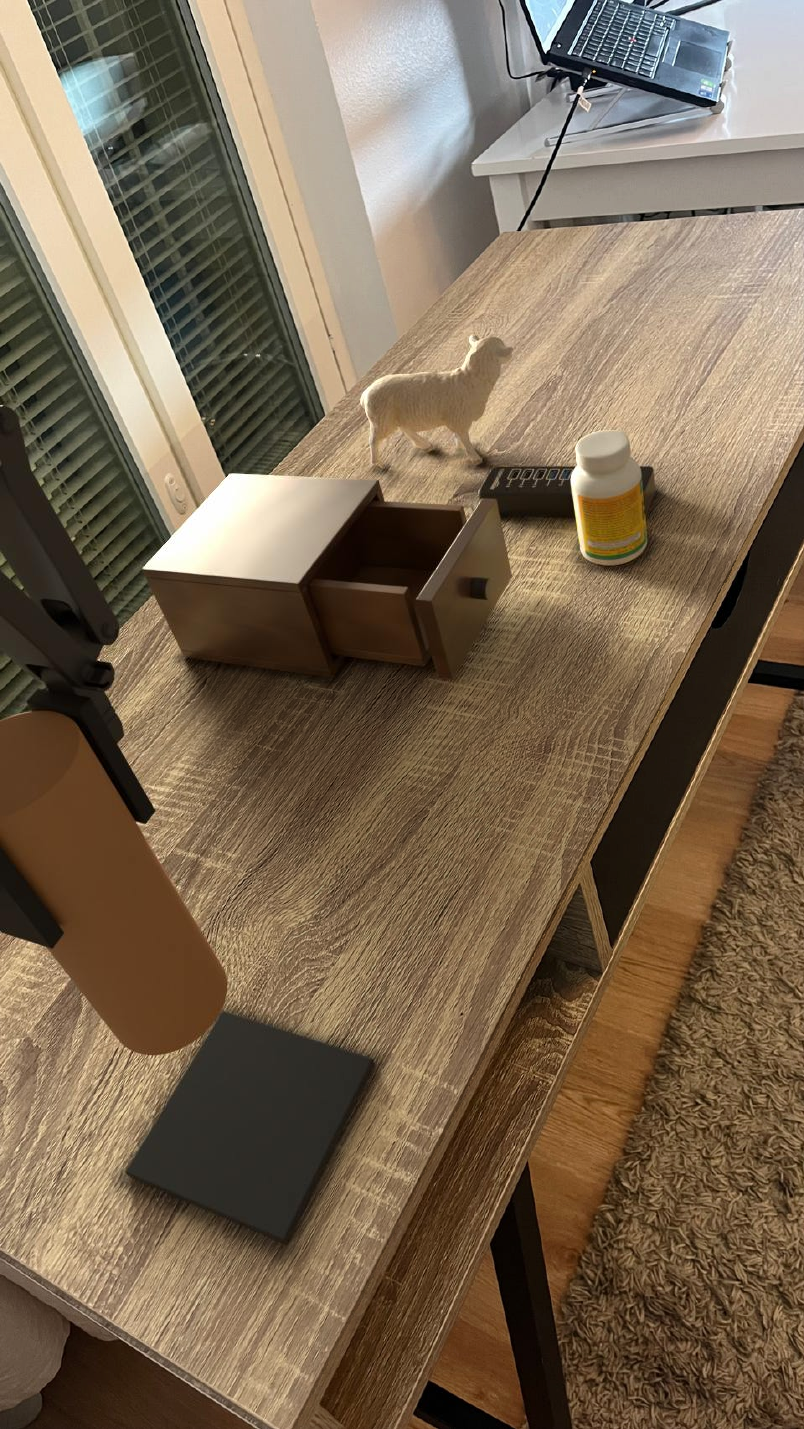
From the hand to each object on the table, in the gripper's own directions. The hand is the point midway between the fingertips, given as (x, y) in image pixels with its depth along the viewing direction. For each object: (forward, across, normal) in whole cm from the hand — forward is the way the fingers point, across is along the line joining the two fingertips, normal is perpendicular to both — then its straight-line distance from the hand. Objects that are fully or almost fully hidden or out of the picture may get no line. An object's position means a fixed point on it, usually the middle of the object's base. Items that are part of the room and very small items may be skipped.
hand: (80, 868), depth 43 cm
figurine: (+22, -65, -16) cm, 70 cm away
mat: (+21, 0, 0) cm, 21 cm away
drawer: (+21, -40, -9) cm, 46 cm away
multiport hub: (+22, -58, -2) cm, 62 cm away
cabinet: (+22, -40, -20) cm, 50 cm away
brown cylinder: (+10, 0, 0) cm, 10 cm away
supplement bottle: (+22, -52, +4) cm, 56 cm away
